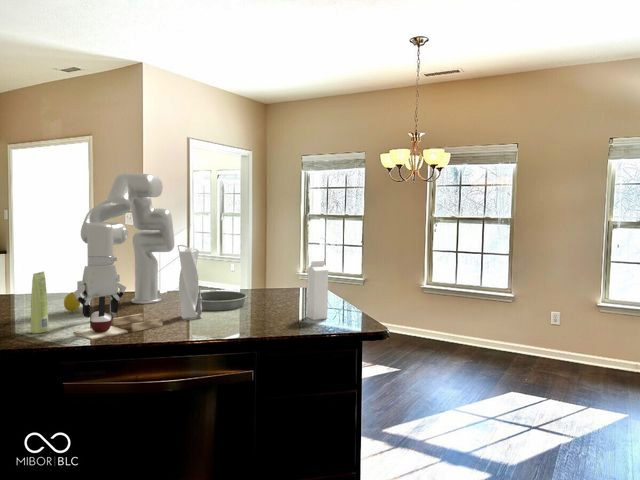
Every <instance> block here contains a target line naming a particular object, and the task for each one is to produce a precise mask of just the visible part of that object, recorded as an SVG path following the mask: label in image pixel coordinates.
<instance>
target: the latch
mask: <svg viewBox="0 0 640 480" xmlns="http://www.w3.org/2000/svg"><path fill="white" fill-rule="evenodd" d="M117 278H118V283H120V280H121V279H120V274H117ZM76 285H77V287H76V290H77V289H79V288H80V287H82V280H77V282H76ZM111 300H112V298H111V296H109V314H110V315H111V316H112V318H111V319H112V320H113V318H116V313H113V312H111Z"/></svg>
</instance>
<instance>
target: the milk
mask: <svg viewBox="0 0 640 480" xmlns="http://www.w3.org/2000/svg"><path fill="white" fill-rule="evenodd" d="M325 263H326V261H325V260H317V261H315V260H311V262H310V266H309V267H308V268H307V277H306V278H307V282H306V283H307V285H306V288H307V290H306V317H307V318H309V319H311V320H313V321H317V320H324V319H328V309H329V308H328V306H329V305H328V302H329V301H328V300H329V293H328V292H329V269H328V268H327V266H326V264H325Z"/></svg>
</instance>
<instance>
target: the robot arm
mask: <svg viewBox="0 0 640 480" xmlns="http://www.w3.org/2000/svg"><path fill="white" fill-rule="evenodd" d="M163 187H164V186H163V181H162V179H161V178H160V177H159V176H156V175H153V174H149V173H134V172H133V173H130V172H129V173H128V172H126V173H120V174H118V175H117V176H116V177H115V178H114V180H113V183H112V186H111V189H110V191H109V193H108V196H107V199H105V200H103V201H102V202H100V203H98V204H96V206H94V207H92V208H91V209H90V210H88V212H87V213H86V215H85V218H84V220H83V222H82V224H81V228H80V237H81V240H82V242H83V243H85V244H87V245H86V246H87V265H86V266H84V269H83V274H82V280H81V281H82V287H80V288H79V289H77V288H76V290H74V291H73V295H74V296H75V297H76V299H77V300H78V301H79V302H80V305H82V315H83V317H85V318H91V315H92V313H91V305H90V302H91V301H92V299H94V298H99V297H101V296H105V297H110V296H111V298H112V300H111V312H113V313H115V314H118V310H119V301H120V300H121V298H122V296H124V293H125V291H126V289H127V286H125V285H123V284H121V283H120V282H118V278H117V275H118V273H117V268H116V265H115V262H117V260H118V258H117V256H114V245H115V246H117V245H122V244H123V243H125V242H126V240H127V238H128V236H129V232H128V228H127V227H126V226H125V224H123V223H120V222H109V221H108V220H110V219H115V218H118V217H120V216H123V215H126V214H127V213H129V212H131V216H132V222H133V226H134V227H135V229H137V230H138V231H136V232H134V234H133V235H132V246H133V252H134V253H133V254H134V297H133V298H131V301H130V302H131V303H133V304H138V305H139V304H144V305H145V304H154V303H160V302H161V301H162V296H166V295H168V291H167V290H159V289H158V287H159V285H158V283H159V281H158V279H159V278H158V276H159V275H158V274H159V273H158V269H159V268H158V267H159V264H158V259H157V258H156V256H155V255H154V254H153V253H169V252H172V251H173V249H175V234H174V224H173V217H172V214H171V212H170V210H168V209H166V208H154V207H153V203H152V198H159V197H160V196H161V195H162V192H163ZM107 221H108V222H107Z"/></svg>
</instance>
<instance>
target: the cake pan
mask: <svg viewBox="0 0 640 480" xmlns="http://www.w3.org/2000/svg"><path fill="white" fill-rule="evenodd" d="M198 297H199V292H198ZM201 297H202V299H201V304H202V310H204V311H205V310H206V311H226V310H234V309H239V308H242V307H244V305H245V300H246V299H247V297H248V294H247V293H245V292H241V291H232V290H230V291H229V290H211V291H201ZM196 309H198V299H197V306H196Z"/></svg>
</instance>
